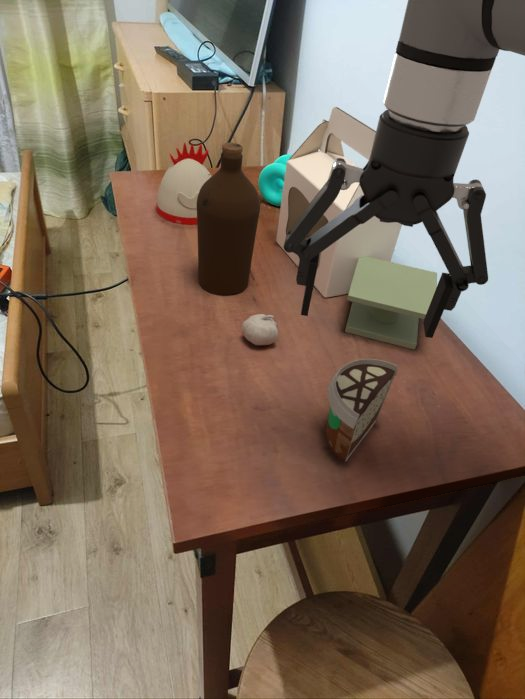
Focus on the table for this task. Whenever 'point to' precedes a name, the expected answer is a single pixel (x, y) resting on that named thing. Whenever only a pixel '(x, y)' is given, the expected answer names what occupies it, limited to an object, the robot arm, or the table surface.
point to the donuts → (273, 180)
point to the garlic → (260, 329)
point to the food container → (356, 402)
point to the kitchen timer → (182, 186)
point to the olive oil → (227, 226)
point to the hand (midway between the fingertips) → (365, 319)
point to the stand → (389, 301)
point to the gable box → (307, 180)
